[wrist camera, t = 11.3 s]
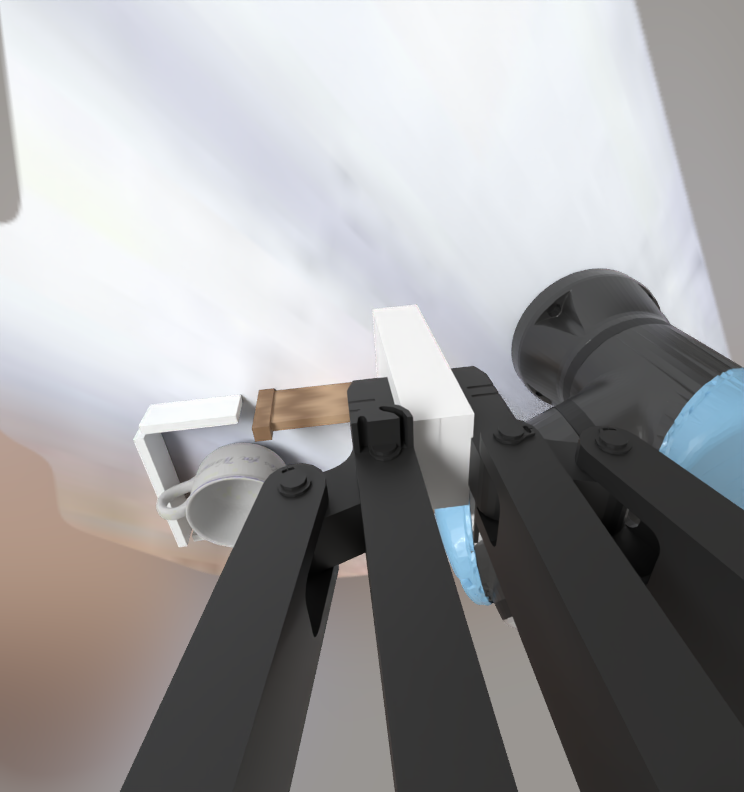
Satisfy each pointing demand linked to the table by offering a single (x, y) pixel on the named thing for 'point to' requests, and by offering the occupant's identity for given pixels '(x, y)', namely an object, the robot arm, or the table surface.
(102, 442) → the table surface
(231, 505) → the teacup
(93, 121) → the table surface
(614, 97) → the table surface
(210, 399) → the holder
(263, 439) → the wooden frame
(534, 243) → the table surface
